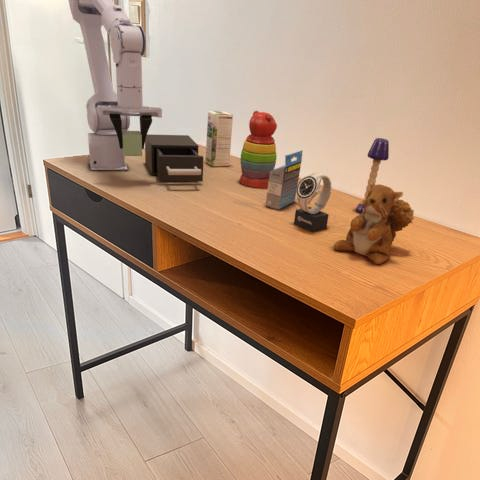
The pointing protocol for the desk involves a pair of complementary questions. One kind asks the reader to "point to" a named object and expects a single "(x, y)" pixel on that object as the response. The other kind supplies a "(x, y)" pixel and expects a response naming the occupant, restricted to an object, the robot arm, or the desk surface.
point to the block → (132, 143)
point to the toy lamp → (375, 163)
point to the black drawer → (178, 164)
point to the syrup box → (218, 138)
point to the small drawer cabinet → (165, 146)
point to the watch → (306, 192)
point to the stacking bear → (259, 151)
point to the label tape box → (284, 182)
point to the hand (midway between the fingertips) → (131, 147)
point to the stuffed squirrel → (377, 224)
